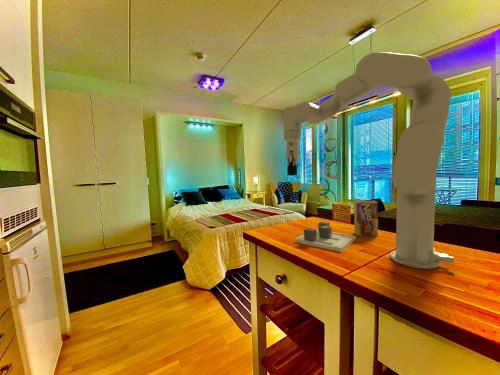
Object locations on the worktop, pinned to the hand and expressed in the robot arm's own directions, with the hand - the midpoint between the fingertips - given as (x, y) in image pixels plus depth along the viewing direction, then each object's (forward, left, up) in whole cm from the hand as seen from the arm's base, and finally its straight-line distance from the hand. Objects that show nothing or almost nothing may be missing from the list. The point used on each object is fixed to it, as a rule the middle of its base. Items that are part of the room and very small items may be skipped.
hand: (292, 175), depth 96 cm
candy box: (-25, -21, -28) cm, 43 cm away
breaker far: (-10, -9, -26) cm, 30 cm away
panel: (-14, -2, -28) cm, 32 cm away
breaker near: (-10, +5, -26) cm, 29 cm away
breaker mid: (-14, -2, -26) cm, 30 cm away
